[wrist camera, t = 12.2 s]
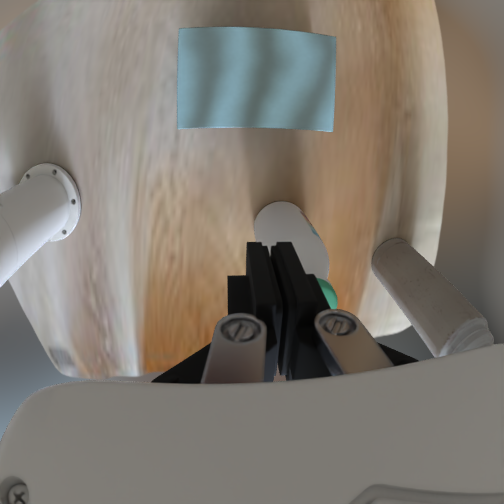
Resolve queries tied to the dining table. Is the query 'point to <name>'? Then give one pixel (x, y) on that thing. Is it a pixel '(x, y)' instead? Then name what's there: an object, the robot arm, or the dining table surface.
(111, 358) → the dining table surface
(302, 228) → the milk bottle
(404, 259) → the thermos bottle
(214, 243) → the dining table surface
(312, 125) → the light blue flat slab
